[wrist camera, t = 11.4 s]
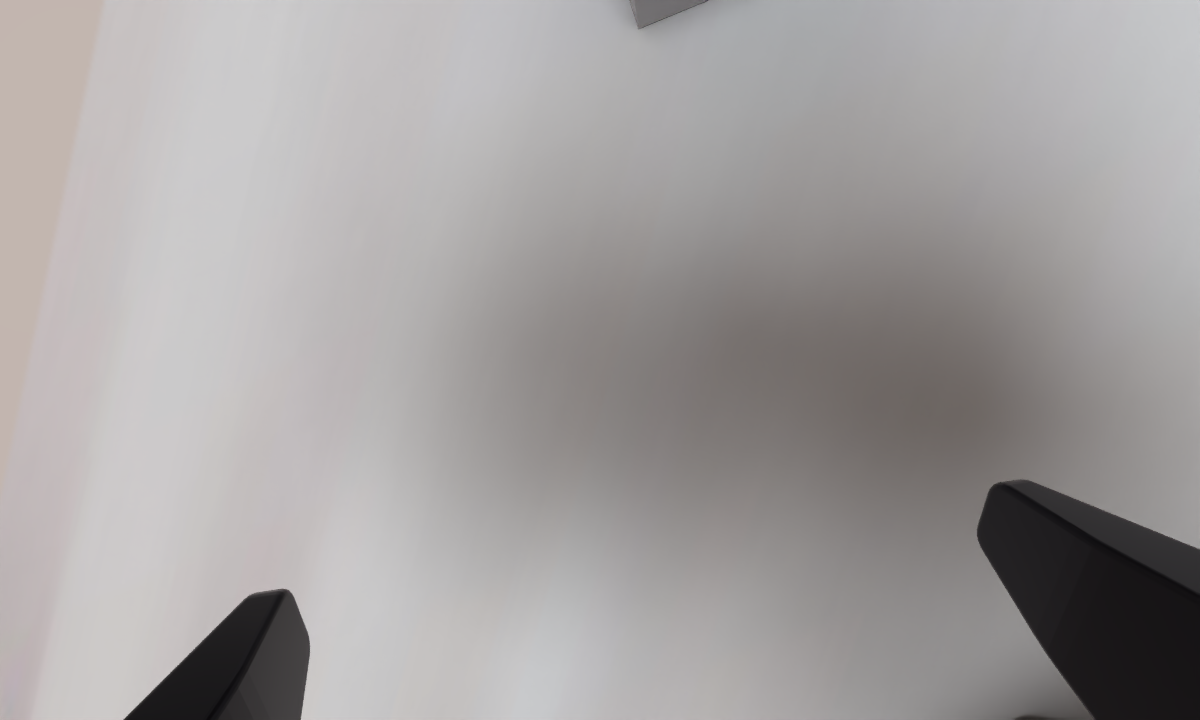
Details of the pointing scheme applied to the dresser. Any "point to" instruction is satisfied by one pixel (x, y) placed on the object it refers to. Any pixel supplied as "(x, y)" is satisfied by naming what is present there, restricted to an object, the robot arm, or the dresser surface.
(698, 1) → the bin
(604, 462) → the dresser surface
